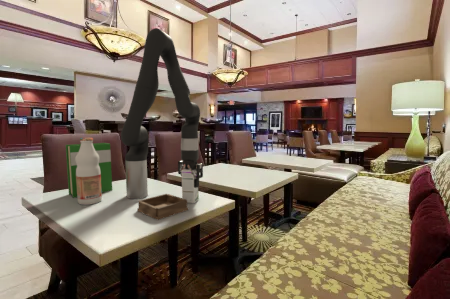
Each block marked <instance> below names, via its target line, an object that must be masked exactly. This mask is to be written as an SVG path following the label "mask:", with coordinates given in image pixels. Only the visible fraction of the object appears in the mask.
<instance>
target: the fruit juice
mask: <svg viewBox="0 0 450 299" xmlns="http://www.w3.org/2000/svg"><path fill="white" fill-rule="evenodd" d="M79 142H80V144H81V146H80V150H79V152H78V154H77V155H76V158H75V160H76V163H77V168H76V183H77V197H76V198H77V203H78V204H79V205H94V204H97V203H99V202H101V201H102V200H103V192H102V190H101V171H100V167H99V159H100V158H99V155H98V153H97V152H96V151H95V149H94V146H93V142H94V138H93V137H81V138H79Z"/></svg>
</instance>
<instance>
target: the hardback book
mask: <svg viewBox="0 0 450 299" xmlns="http://www.w3.org/2000/svg"><path fill="white" fill-rule="evenodd" d="M92 143H93V142H92ZM80 146H81V143H79V144H78V143H77V144H65V154H66V155H65V158H66V172H67V174H66V175H67V184H68V185H67V186H68V196H71V195H72V198H73V199H74V198H75V199H76V198H77V183H76V168H77V163H76V160H75V158H76V155H77V154H78V152H79V150H80ZM93 146H94V149H95V151H96V152H97V153H98V155H99V158H100V159H99V167H100V171H101V190H102V193H108V192H113V177H112V175H113V174H112V173H113V172H112V154H111V143H108V142H96V143H93Z"/></svg>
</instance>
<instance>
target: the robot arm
mask: <svg viewBox="0 0 450 299" xmlns="http://www.w3.org/2000/svg"><path fill="white" fill-rule="evenodd" d="M142 55H143V56H142V61H141V65H140V68H139V73H138V77H137V80H136V85H135V87H134V91H133V96H132V100H131V102H130V107H129V110H128V114H127V115H126V119H125V121H124V124H123V127H122V129H121V133H120V139H121V142H122V144H123V145H125V146H127V147H129V150H128V152H127V153H126V154H125V160H124V161H125V183H126V184H125V185H126V198H127V199H132V200H137V199H139V200H140V199H145V198H147V197H148V192H149V191H148V168H147V167H148V165H147V164H148V163H147V162H148V161H147V160H148V159H147V157H148V154H149V133H148V130H147V129H146V127H144V126H143V124H142V123H143V121H144V119H145V116H146V114H147V113H148V112H149V110H150V109H151V108H152V106H153V104H154V103H155V100H156V98H157V94H158V90H159V82H160V81H159V72H158V66H159V61H160V58H161V59H162V62H163V63H164V65H165V69H166V73H167V81H168V84H169V86H170V88H171V91H172V94H173V96H174V102H175V106H176V107H175V108H176V109H177V110H176V111H177V113H178V114H179V116H180V117H181V118H183V119H184V120H185V121H184V124H183V125H181V132H180V135H181V136H180V138H181V141H180V156H181V157H180V160H178V161H177V172H178V173H177V174H178V175H180V176H181V177H182V172H181V171H182V170H184V169H189V170H191V174H192V175H193V177H194V188H197V187H198V188H199V186H200V179H202V178H204V171H203V170H204V168H203V167H204V165H203V163H198V160H199V158H200V157H199V153H200V152H199V136H198V135H199V133H198V132H199V131H198V130H199V129H198V128H199V123H200V120H201V119H200V118H201V109H200V107H199V105H198V104H197V103H196V102H192V101H191V100H190V95H191V91H190V88H189V85H188V83H187V81H186V78H185V77H184V76H185V75H184V74H183V72H182V69H181V68H182V67H181V65H180V63H179V59H178V56H177V52H176V47H175V44H174V40H173V38H172V37H171V36H170V35H169V34H167V33H166V32H165V31H163V30H162V29H160V28H156V27H155V28H154V27H153V28H152V29H151V30H149V32H148V33H147V35H146V38H145V42H144V48H143V54H142ZM193 170H196V172H193ZM195 174H196V175H197V176H196V175H195Z"/></svg>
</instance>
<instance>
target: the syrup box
mask: <svg viewBox="0 0 450 299" xmlns="http://www.w3.org/2000/svg"><path fill="white" fill-rule="evenodd" d="M181 172H182V176H181V194H182V195H181V198H183V199H186V200H187V204H196V202H198V200H199V199H200V197H199V187H197V188H194V177H193V175H192V174H191V170H189V169H184V170H182V169H181ZM193 172H196V170H193ZM195 175H196V174H195ZM196 176H197V175H196Z"/></svg>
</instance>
